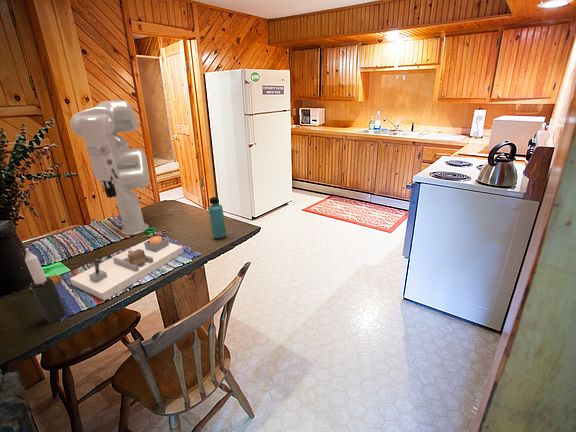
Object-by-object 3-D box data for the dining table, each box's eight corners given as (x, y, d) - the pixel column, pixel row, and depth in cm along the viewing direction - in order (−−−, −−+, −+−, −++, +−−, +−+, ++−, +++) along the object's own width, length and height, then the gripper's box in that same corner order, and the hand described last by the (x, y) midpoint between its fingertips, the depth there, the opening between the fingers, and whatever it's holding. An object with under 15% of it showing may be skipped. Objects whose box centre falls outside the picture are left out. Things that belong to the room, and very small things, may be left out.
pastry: (56, 277, 120) (52, 269, 119) (66, 281, 118) (63, 273, 116) (29, 291, 113) (25, 282, 111) (40, 295, 110) (36, 287, 109)
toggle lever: (92, 272, 111) (92, 259, 107) (98, 270, 113) (97, 256, 109) (96, 276, 111) (96, 262, 107) (101, 273, 113) (101, 259, 109)
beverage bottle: (223, 241, 142) (218, 200, 135) (210, 240, 144) (204, 200, 136) (229, 234, 148) (223, 195, 140) (216, 234, 150) (210, 195, 142)
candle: (61, 308, 102) (33, 242, 93) (67, 314, 100) (40, 246, 90) (43, 317, 99) (12, 249, 89) (49, 323, 96) (18, 254, 86)
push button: (148, 247, 133) (146, 239, 131) (158, 242, 137) (156, 234, 135) (156, 250, 130) (154, 242, 129) (165, 245, 134) (164, 237, 133)
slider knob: (130, 265, 119) (127, 254, 117) (141, 259, 123) (138, 248, 121) (135, 267, 118) (132, 256, 116) (146, 261, 122) (143, 250, 120)
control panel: (72, 285, 115) (67, 271, 112) (153, 243, 143) (150, 231, 141) (104, 300, 105) (99, 286, 103) (183, 252, 134) (181, 240, 132)
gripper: (120, 150, 116) (132, 196, 123) (97, 147, 123) (109, 191, 130) (101, 154, 110) (114, 202, 117) (77, 151, 117) (92, 197, 124)
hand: (112, 196), depth 124 cm, fingers closed
